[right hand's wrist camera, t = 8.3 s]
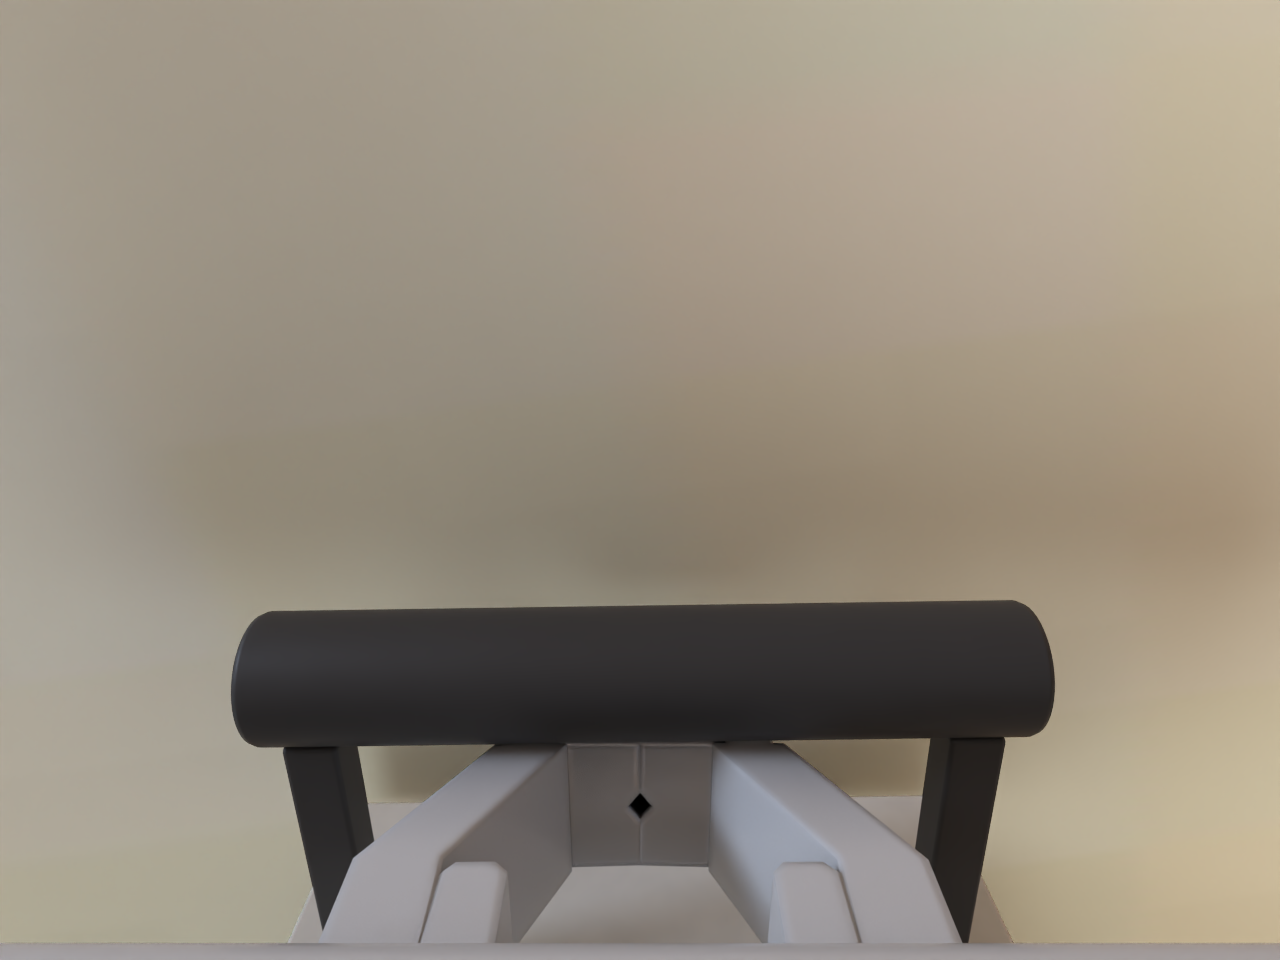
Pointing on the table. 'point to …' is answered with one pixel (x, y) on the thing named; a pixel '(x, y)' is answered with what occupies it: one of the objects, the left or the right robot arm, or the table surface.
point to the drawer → (649, 723)
